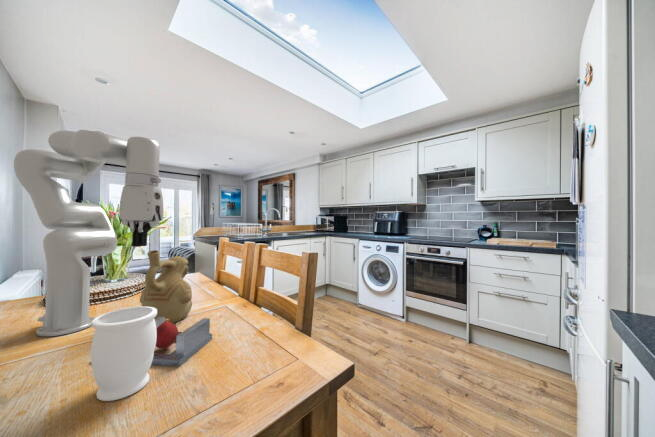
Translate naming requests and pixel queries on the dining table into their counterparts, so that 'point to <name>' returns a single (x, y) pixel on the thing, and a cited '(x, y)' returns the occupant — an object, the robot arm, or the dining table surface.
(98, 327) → the jar
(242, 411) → the dining table surface
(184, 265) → the ceramic vessel
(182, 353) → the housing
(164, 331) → the onion
